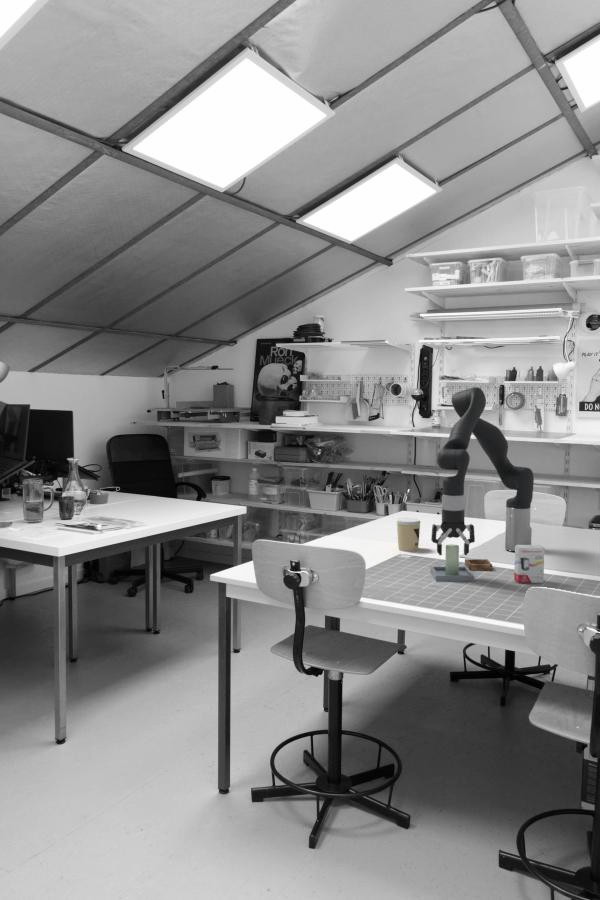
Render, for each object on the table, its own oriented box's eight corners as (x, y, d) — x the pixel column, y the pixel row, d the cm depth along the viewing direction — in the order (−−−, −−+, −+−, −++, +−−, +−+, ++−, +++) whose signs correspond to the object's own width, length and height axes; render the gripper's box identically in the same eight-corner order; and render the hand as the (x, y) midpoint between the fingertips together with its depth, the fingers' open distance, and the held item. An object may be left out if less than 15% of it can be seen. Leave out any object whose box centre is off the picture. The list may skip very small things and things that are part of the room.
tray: (466, 571, 248) (466, 566, 248) (474, 581, 235) (474, 576, 235) (430, 571, 248) (430, 566, 248) (435, 581, 236) (435, 575, 236)
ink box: (517, 583, 233) (518, 548, 232) (513, 579, 238) (514, 544, 237) (544, 583, 233) (545, 548, 232) (539, 579, 238) (540, 544, 237)
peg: (457, 572, 244) (457, 544, 243) (459, 576, 240) (459, 547, 239) (444, 572, 244) (444, 544, 243) (446, 576, 240) (446, 547, 239)
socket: (487, 564, 258) (487, 559, 258) (492, 570, 250) (492, 564, 249) (464, 564, 258) (464, 559, 258) (469, 570, 250) (469, 564, 250)
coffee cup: (419, 552, 277) (420, 522, 276) (395, 551, 279) (395, 521, 278) (420, 547, 286) (420, 518, 285) (397, 546, 288) (397, 517, 287)
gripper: (472, 505, 243) (471, 552, 245) (430, 506, 244) (430, 552, 245) (476, 509, 236) (476, 557, 237) (433, 509, 236) (433, 557, 238)
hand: (452, 554), depth 241 cm, fingers open, 8 cm apart
